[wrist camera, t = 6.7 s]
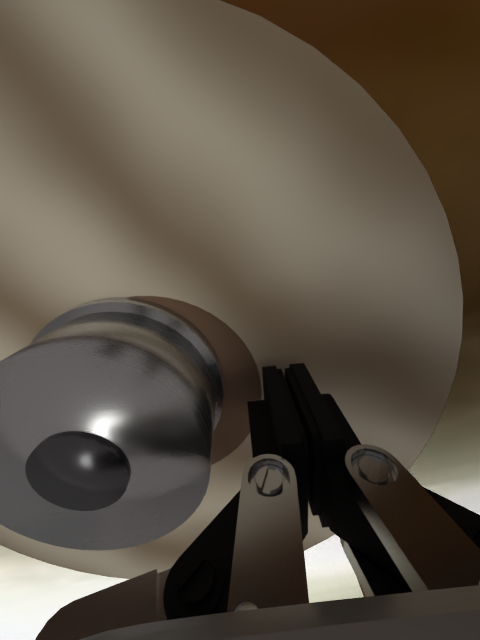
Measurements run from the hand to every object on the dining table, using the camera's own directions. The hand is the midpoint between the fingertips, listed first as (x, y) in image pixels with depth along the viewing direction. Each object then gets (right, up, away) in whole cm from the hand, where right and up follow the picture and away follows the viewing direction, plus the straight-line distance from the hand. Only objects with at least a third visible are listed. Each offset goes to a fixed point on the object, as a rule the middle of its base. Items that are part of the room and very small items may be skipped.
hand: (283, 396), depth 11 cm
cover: (-6, 0, 0) cm, 6 cm away
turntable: (-5, 0, +2) cm, 6 cm away
